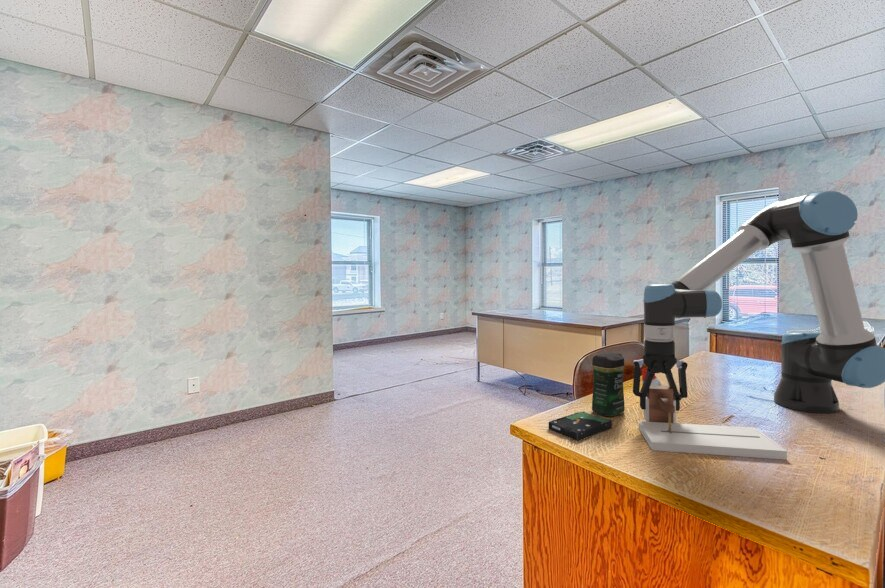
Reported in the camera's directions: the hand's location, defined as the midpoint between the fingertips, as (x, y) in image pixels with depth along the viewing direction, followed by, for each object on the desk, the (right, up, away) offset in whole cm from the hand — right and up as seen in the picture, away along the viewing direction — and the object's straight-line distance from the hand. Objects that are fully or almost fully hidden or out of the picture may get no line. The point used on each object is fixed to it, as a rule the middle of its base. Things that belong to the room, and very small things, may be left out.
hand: (659, 420), depth 113 cm
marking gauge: (-1, -2, -4) cm, 4 cm away
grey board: (+5, -2, -11) cm, 13 cm away
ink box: (+9, 0, +21) cm, 23 cm away
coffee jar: (-9, -1, +12) cm, 15 cm away
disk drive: (-22, -3, 0) cm, 23 cm away
